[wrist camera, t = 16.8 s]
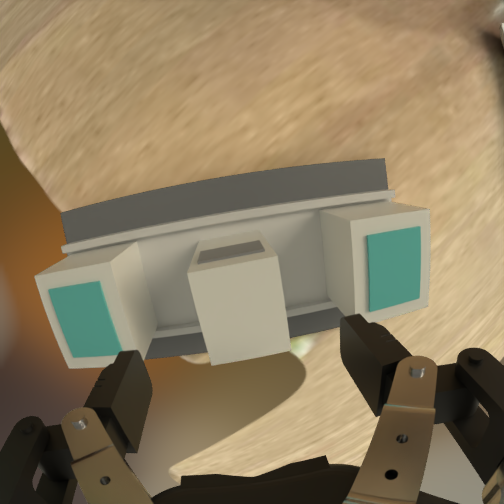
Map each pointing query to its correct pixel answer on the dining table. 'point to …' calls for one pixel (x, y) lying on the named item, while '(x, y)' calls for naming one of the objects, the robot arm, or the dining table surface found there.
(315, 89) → the dining table surface
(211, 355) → the loose module
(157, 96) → the dining table surface
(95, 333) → the board
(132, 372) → the robot arm
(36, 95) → the dining table surface
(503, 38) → the salad plate
